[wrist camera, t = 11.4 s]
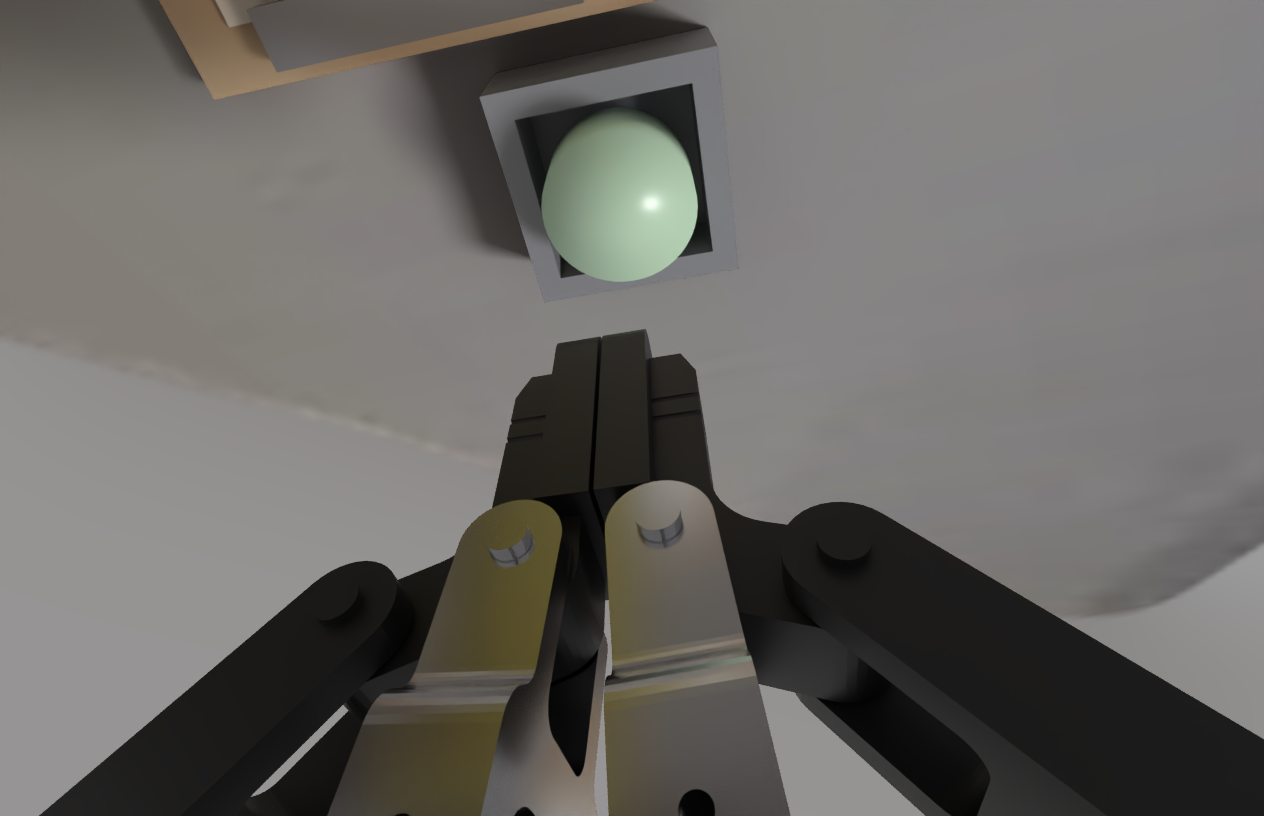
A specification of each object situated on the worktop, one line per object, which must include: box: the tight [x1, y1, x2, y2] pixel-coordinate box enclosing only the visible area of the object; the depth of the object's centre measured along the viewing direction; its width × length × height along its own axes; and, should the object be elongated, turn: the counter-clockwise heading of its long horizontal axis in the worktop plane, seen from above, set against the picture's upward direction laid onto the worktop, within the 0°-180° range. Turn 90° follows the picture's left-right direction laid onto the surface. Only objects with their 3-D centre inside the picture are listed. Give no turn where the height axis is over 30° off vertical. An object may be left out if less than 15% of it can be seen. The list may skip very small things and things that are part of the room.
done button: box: [541, 108, 698, 282], centre depth 17 cm, size 4×4×2 cm
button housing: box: [479, 27, 739, 302], centre depth 19 cm, size 6×6×2 cm
